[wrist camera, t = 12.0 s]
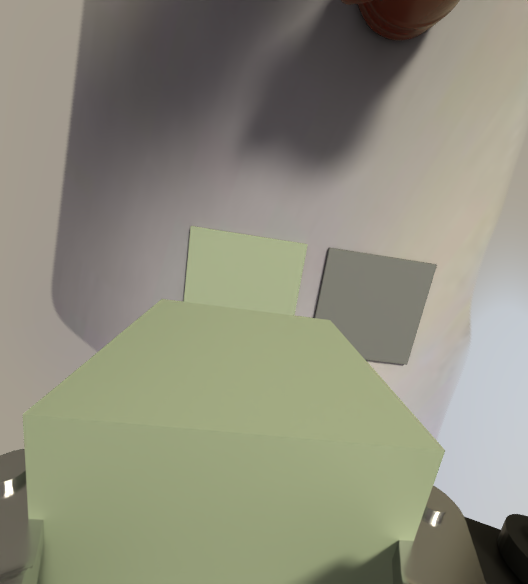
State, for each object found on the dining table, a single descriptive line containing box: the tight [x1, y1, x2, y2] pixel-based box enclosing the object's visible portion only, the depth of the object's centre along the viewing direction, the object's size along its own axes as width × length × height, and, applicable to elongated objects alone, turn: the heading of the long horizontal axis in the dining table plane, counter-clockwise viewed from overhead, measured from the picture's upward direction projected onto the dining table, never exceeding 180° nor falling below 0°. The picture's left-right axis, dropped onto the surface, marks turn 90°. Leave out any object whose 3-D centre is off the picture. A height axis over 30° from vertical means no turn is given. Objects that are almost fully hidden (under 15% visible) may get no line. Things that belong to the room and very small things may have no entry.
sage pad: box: [184, 226, 308, 315], centre depth 25 cm, size 10×10×1 cm
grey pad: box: [314, 248, 437, 365], centre depth 26 cm, size 10×10×1 cm
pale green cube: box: [23, 299, 445, 584], centre depth 7 cm, size 6×6×6 cm
